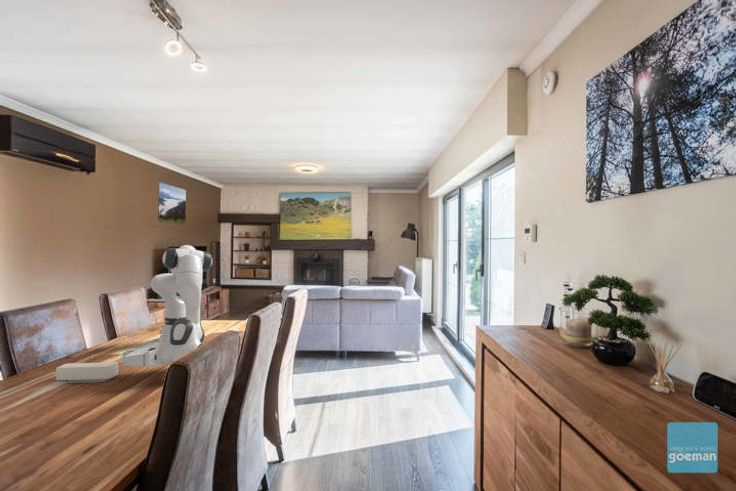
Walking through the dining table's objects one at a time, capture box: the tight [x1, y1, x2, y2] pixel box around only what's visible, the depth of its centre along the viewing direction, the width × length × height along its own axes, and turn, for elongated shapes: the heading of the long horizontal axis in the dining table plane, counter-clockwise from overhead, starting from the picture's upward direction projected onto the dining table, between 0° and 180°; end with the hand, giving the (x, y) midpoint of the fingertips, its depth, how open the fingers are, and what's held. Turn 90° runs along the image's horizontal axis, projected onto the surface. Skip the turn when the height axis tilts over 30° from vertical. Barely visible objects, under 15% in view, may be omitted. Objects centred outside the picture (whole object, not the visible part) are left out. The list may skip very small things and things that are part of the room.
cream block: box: [55, 361, 119, 381], centre depth 138 cm, size 5×5×20 cm
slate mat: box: [65, 371, 120, 384], centre depth 138 cm, size 14×10×1 cm
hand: (124, 353), depth 139 cm, fingers closed
